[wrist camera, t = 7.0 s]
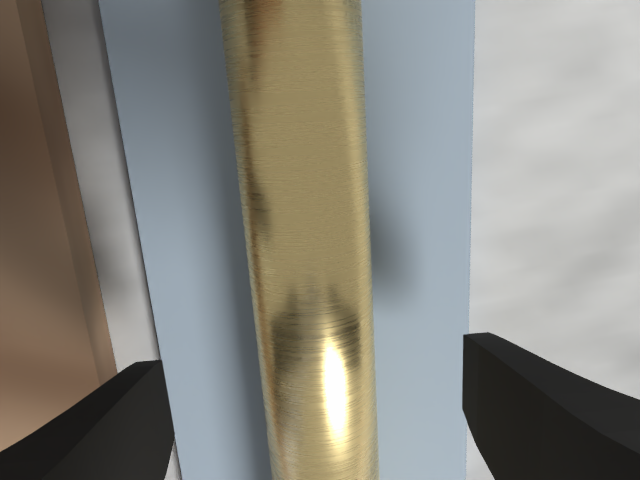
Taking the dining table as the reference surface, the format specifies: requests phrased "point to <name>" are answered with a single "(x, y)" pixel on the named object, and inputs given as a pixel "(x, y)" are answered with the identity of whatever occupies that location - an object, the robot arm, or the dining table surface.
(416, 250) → the slate mat
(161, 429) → the robot arm
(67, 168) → the rail stand
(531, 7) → the dining table surface
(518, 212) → the dining table surface
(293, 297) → the brass rail
